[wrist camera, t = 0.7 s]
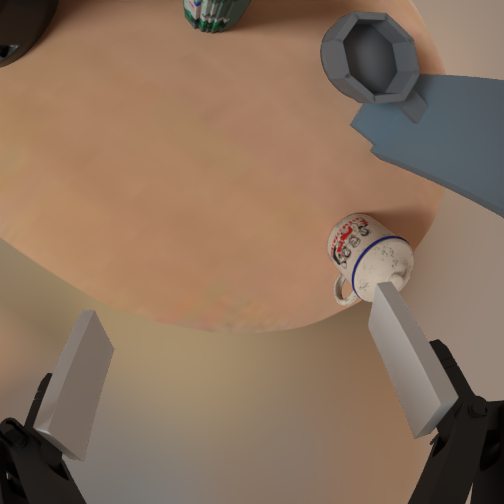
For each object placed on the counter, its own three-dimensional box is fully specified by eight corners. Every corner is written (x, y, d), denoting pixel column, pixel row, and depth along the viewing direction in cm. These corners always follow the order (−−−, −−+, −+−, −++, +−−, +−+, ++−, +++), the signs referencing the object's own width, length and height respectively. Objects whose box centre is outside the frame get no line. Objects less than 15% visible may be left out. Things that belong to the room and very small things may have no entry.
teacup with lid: (350, 199, 40) (399, 234, 30) (390, 229, 43) (438, 267, 33) (300, 270, 43) (333, 322, 33) (344, 291, 47) (380, 340, 37)
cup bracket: (278, 83, 31) (450, 68, 9) (336, 2, 27) (505, -59, 4) (382, 161, 38) (544, 245, 15) (427, 85, 34) (589, 118, 11)
